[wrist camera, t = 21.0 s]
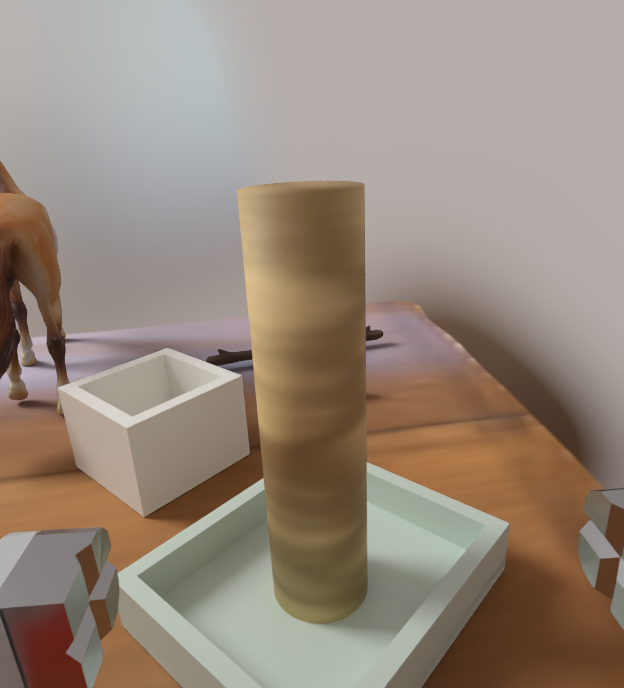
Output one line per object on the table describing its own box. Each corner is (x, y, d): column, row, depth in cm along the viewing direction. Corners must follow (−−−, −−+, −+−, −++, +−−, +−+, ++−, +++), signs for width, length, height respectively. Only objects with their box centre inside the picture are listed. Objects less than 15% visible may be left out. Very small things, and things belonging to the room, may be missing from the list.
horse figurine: (10, 336, 63) (-40, 149, 55) (81, 325, 65) (43, 146, 58) (-30, 479, 36) (-138, 154, 28) (93, 450, 39) (24, 146, 31)
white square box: (143, 517, 31) (126, 428, 29) (76, 466, 37) (57, 387, 34) (249, 453, 37) (241, 375, 35) (178, 417, 42) (167, 347, 40)
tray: (321, 830, 17) (317, 774, 16) (121, 625, 24) (110, 577, 23) (504, 568, 27) (509, 523, 26) (320, 479, 34) (319, 441, 33)
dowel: (306, 641, 22) (276, 197, 16) (257, 575, 26) (216, 189, 19) (387, 592, 24) (391, 184, 18) (332, 538, 28) (318, 179, 21)
